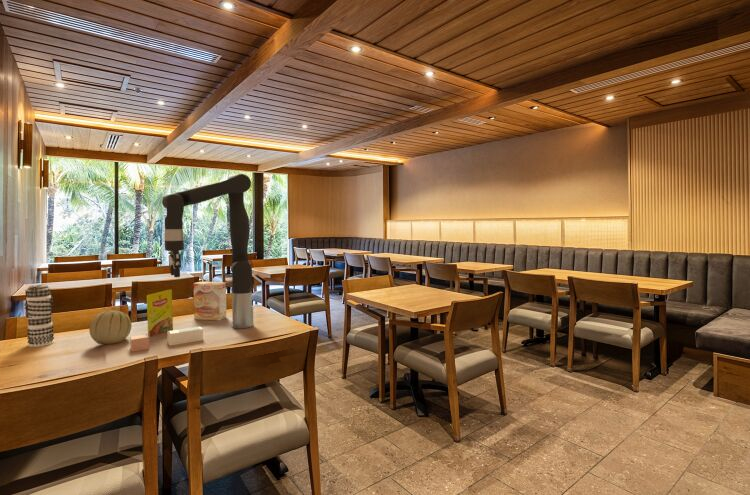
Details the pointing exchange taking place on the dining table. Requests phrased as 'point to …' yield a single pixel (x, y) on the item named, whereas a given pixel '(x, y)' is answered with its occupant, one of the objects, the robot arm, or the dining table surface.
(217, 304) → the coffeecake box
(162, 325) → the food package
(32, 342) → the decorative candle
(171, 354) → the dining table surface
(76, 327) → the dining table surface
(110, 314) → the cantaloupe
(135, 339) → the stub
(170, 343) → the white rectangular block
